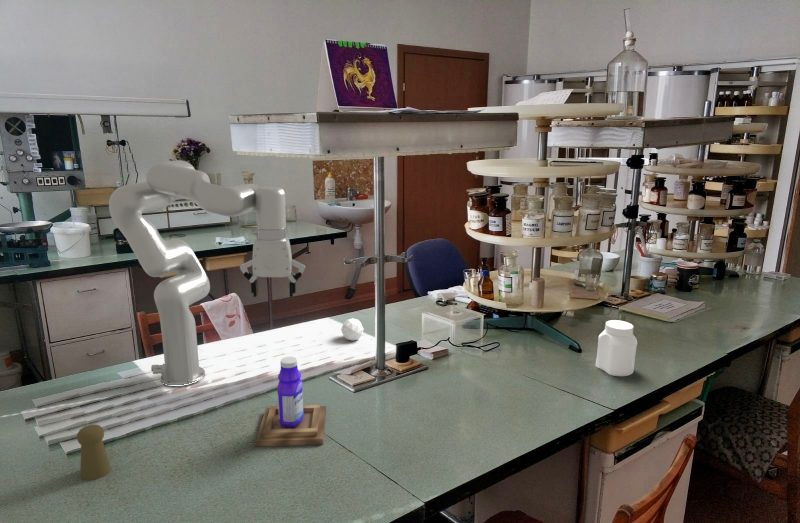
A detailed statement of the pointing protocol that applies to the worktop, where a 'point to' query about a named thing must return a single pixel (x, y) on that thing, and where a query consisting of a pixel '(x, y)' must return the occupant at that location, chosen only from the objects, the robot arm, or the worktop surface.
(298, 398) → the bottle
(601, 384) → the worktop surface
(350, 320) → the geometric ball
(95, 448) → the tan game pawn
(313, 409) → the walnut base
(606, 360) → the jar
